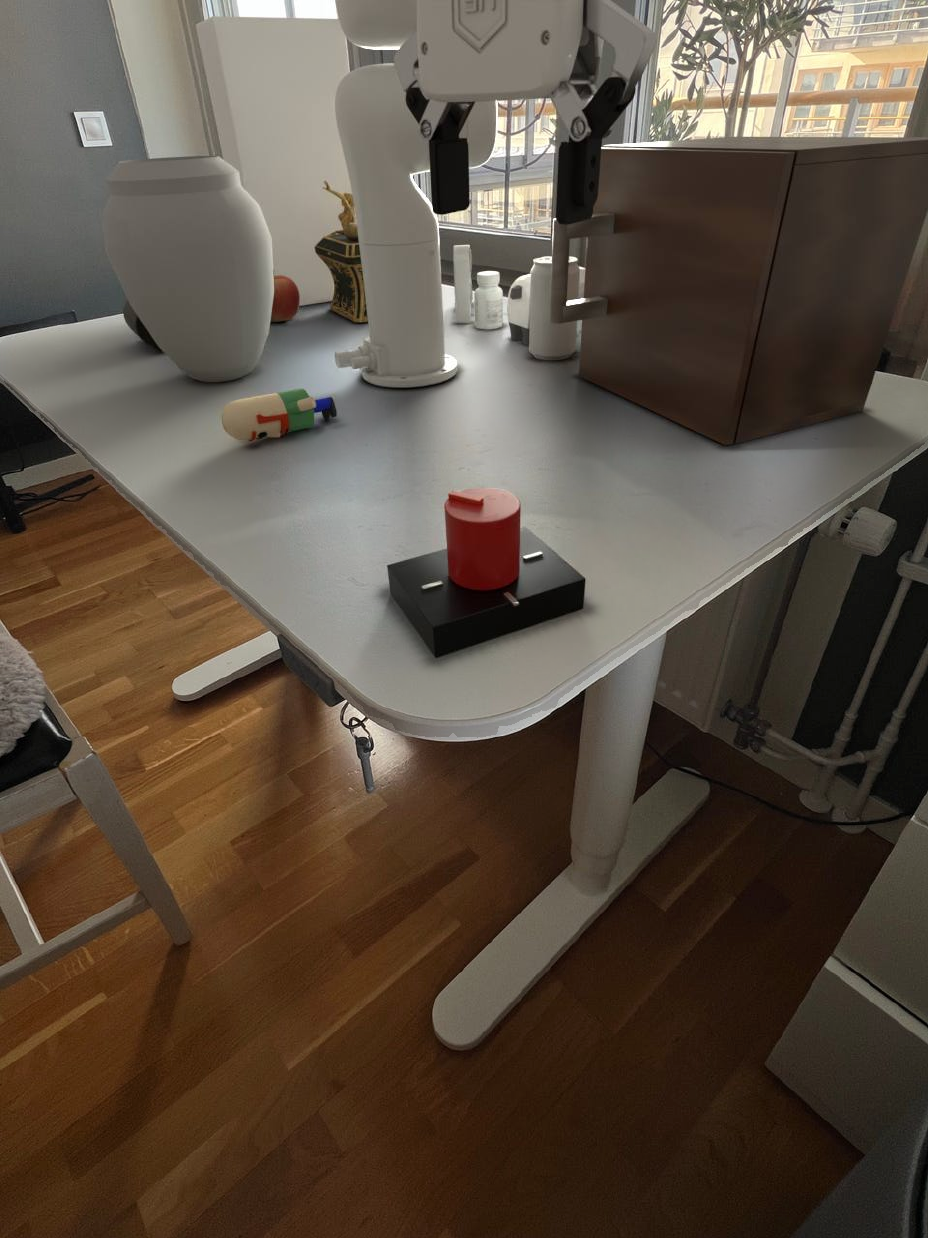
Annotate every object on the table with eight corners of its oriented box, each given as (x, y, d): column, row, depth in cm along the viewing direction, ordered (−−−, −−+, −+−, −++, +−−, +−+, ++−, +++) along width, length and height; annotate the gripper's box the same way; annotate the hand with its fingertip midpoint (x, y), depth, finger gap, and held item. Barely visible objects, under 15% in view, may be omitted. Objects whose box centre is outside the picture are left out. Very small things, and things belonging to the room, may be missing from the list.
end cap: (131, 342, 107) (117, 296, 103) (177, 335, 110) (164, 290, 106) (144, 356, 100) (129, 307, 96) (192, 348, 103) (179, 300, 99)
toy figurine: (321, 432, 79) (221, 453, 73) (310, 393, 78) (207, 411, 72) (349, 419, 72) (240, 441, 66) (337, 376, 71) (226, 394, 65)
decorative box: (321, 308, 122) (301, 179, 110) (370, 301, 125) (356, 174, 113) (362, 331, 107) (345, 185, 96) (417, 322, 111) (406, 180, 99)
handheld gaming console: (473, 314, 122) (472, 323, 109) (457, 315, 122) (455, 323, 109) (471, 244, 117) (470, 244, 103) (455, 245, 117) (452, 245, 104)
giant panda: (522, 347, 97) (523, 273, 91) (501, 339, 101) (501, 268, 95) (601, 330, 102) (607, 260, 97) (578, 323, 106) (583, 255, 101)
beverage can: (573, 362, 90) (579, 262, 83) (525, 361, 91) (527, 262, 84) (576, 349, 95) (582, 253, 88) (531, 348, 96) (533, 254, 89)
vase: (294, 348, 101) (258, 151, 86) (296, 388, 86) (253, 157, 71) (159, 361, 98) (98, 159, 83) (136, 405, 83) (57, 167, 68)
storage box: (269, 310, 122) (212, 15, 98) (252, 300, 129) (195, 24, 105) (374, 294, 130) (344, 18, 106) (352, 285, 137) (320, 26, 113)
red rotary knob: (531, 562, 46) (533, 491, 43) (498, 598, 42) (497, 524, 39) (471, 546, 48) (468, 477, 45) (434, 579, 45) (429, 507, 41)
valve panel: (438, 663, 42) (436, 629, 40) (387, 591, 48) (383, 559, 47) (587, 613, 45) (590, 580, 44) (521, 552, 52) (522, 521, 50)
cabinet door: (669, 460, 64) (716, 158, 50) (531, 385, 83) (536, 151, 69) (733, 443, 66) (795, 152, 52) (584, 374, 85) (600, 147, 71)
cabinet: (734, 444, 66) (798, 149, 52) (586, 375, 85) (602, 145, 71) (863, 410, 72) (952, 137, 58) (697, 353, 91) (733, 136, 77)
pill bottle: (507, 324, 107) (507, 271, 103) (493, 331, 105) (493, 276, 100) (484, 322, 109) (483, 269, 105) (470, 328, 107) (468, 274, 102)
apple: (282, 313, 120) (272, 263, 115) (313, 318, 116) (305, 266, 111) (246, 323, 115) (235, 271, 110) (278, 328, 111) (268, 275, 106)
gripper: (333, -169, 35) (372, 216, 45) (638, -276, 26) (597, 235, 36) (430, -142, 39) (445, 202, 50) (718, -225, 30) (661, 217, 41)
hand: (509, 216), depth 43 cm, fingers open, 9 cm apart
